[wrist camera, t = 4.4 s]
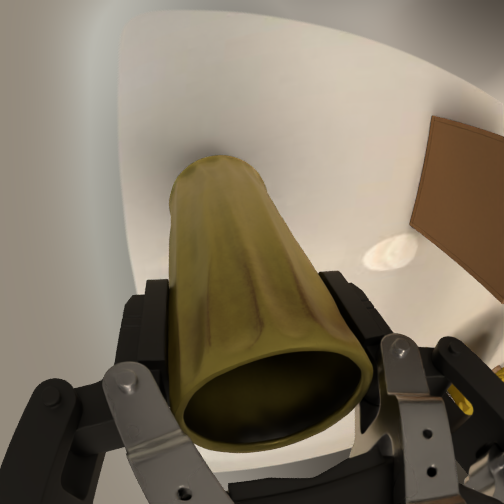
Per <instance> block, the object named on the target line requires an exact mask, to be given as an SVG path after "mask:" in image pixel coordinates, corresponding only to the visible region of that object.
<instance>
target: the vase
mask: <svg viewBox="0 0 504 504" xmlns="http://www.w3.org/2000/svg"><path fill="white" fill-rule="evenodd" d="M169 209H170V214H171V230H170V239H169V305H168V372H169V403H170V410H171V412H172V414H173V415H174V417H175V419H176V421H177V423H178V424H179V426H180V428H181V429H182V431H183V432H184V433H186V434H187V435H188V436H189V438H190V439H191V440H192V442H193V443H194V444H196V445H198V446H200V447H203V448H205V449H208V450H213V451H219V452H229V453H250V452H259V451H266V450H272V449H277V448H281V447H284V446H288V445H291V444H294V443H296V442H299V441H302V440H304V439H307V438H309V437H311V436H314V435H316V434H318V433H320V432H322V431H324V430H326V429H327V428H329V427H331V426H332V425H334V424H335V423H337V422H338V421H339V420H341V419H342V418H343V417H345V416H346V415H347V414H349V413H350V412H351V411H352V410H353V409H354V408H355V407H356V406H357V405H358V404H359V402H360V401H361V400H362V399H363V397H364V396H365V394H366V393H367V391H368V389H369V387H370V384H371V381H372V377H373V367H372V364H371V362H370V360H369V358H368V356H367V354H366V353H365V351H364V349H363V348H362V346H361V345H360V343H359V341H358V340H357V338H356V337H355V335H354V334H353V333H352V331H351V330H350V329H349V327H348V326H347V324H346V323H345V321H344V319H343V318H342V316H341V314H340V312H339V310H338V308H337V306H336V303H335V301H334V299H333V297H332V295H331V294H330V292H329V290H328V289H327V287H326V286H325V284H324V282H323V281H322V279H321V278H320V276H319V275H318V273H317V271H316V270H315V268H314V267H313V265H312V263H311V262H310V260H309V259H308V257H307V256H306V254H305V253H304V251H303V250H302V248H301V247H300V245H299V244H298V242H297V241H296V239H295V238H294V236H293V235H292V233H291V231H290V230H289V228H288V226H287V224H286V223H285V221H284V220H283V218H282V217H281V215H280V214H279V212H278V210H277V208H276V206H275V205H274V203H273V201H272V200H271V198H270V197H269V195H268V193H267V189H266V186H265V184H264V182H263V180H262V178H261V176H260V175H259V173H258V172H257V171H256V170H255V169H254V168H253V167H252V166H251V165H249V164H248V163H246V162H245V161H243V160H241V159H238V158H235V157H232V156H227V155H215V156H209V157H205V158H202V159H199V160H197V161H195V162H194V163H192V164H190V165H189V166H188V167H187V168H185V169H184V170H183V171H182V172H181V173H180V175H179V176H178V177H177V178H176V180H175V182H174V184H173V187H172V190H171V194H170V198H169Z"/></svg>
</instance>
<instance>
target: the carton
mask: <svg viewBox="0 0 504 504" xmlns="http://www.w3.org/2000/svg"><path fill="white" fill-rule="evenodd" d="M410 226H412V227H413V228H414V229H416V230H417V231H418V232H420V233H421V234H422V235H423V236H425V237H426V238H427V239H429V240H430V241H431V242H432V243H434V244H435V245H436V246H437V247H439V248H440V249H441V250H442V251H443V252H445V253H446V254H447V255H448V256H449V257H451V258H452V259H453V260H454V261H455V262H457V263H458V264H459V265H460V266H461V267H462V268H464V269H465V270H466V271H467V272H468V273H469V274H470V275H472V276H473V277H474V278H475V279H476V280H477V281H478V282H479V283H480V284H482V285H483V286H484V287H485V288H486V289H487V290H488V291H489V292H490V293H491V294H492V295H493V296H494V297H495V298H497V299H498V300H499V301H500V302H501V303H502V304H504V137H503V136H501V135H498V134H495V133H492V132H489V131H486V130H483V129H480V128H476V127H473V126H470V125H466V124H463V123H459V122H456V121H452V120H448V119H444V118H440V117H436V116H432V120H431V126H430V133H429V139H428V145H427V150H426V156H425V161H424V166H423V171H422V176H421V180H420V185H419V189H418V193H417V198H416V202H415V206H414V210H413V213H412V217H411V221H410Z"/></svg>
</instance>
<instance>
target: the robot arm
mask: <svg viewBox="0 0 504 504" xmlns="http://www.w3.org/2000/svg"><path fill="white" fill-rule="evenodd" d="M318 275H319V276H320V278H321V279H322V281H323V282H324V284H325V286H326V287H327V289H328V290H329V292H330V294H331V295H332V297H333V299H334V301H335V303H336V306H337V308H338V310H339V312H340V314H341V316H342V318H343V319H344V321H345V323H346V324H347V326H348V327H349V329H350V330H351V331H352V333H353V334H354V335H355V337H356V338H357V340H358V341H359V343H360V345H361V346H362V348H363V349H364V351H365V353H366V354H367V356H368V358H369V360H370V362H371V364H372V367H373V377H372V381H371V384H370V387H369V389H368V391H367V393H366V394H365V396H364V397H363V399H362V400H361V401H360V402H359V404H358V405H357V406H356V407H355V440H354V444H353V447H352V449H351V453H350V457H349V458H348V459H346V460H344V461H342V462H341V463H339V464H338V465H336V466H334V467H332V468H330V469H329V470H327V471H325V472H323V473H322V474H320V475H318V476H316V477H313V478H264V479H258V480H252V481H244V482H236V483H228V491H225V490H224V489H223V487H222V486H221V484H220V483H219V482H218V480H217V479H216V477H215V476H214V475H213V473H212V471H211V470H210V468H209V467H208V465H207V464H206V462H205V461H204V459H203V458H202V456H201V455H200V453H199V451H198V450H197V448H196V447H195V445H194V443H193V442H192V440H191V439H190V438H189V436H188V435H187V434H186V433H184V432H183V431H182V429H181V428H180V426H179V424H178V423H177V421H176V419H175V417H174V415H173V414H172V412H171V410H170V408H169V407H170V403H169V372H168V305H169V281H168V279H158V280H147V282H146V288H145V295H132V297H131V298H130V299H129V300H128V302H127V303H126V304H125V308H124V312H123V319H122V322H121V328H120V334H119V339H118V345H117V351H116V358H115V363H114V366H112V367H111V368H110V369H109V370H108V371H107V372H106V374H105V375H104V377H103V379H102V380H101V381H99V382H97V383H94V384H91V385H86V386H82V387H78V388H73V387H72V386H71V384H69V383H68V382H67V381H65V380H62V379H57V378H54V379H48V380H46V381H44V382H42V383H41V384H39V385H38V386H37V387H36V389H35V390H34V392H33V394H32V396H31V398H30V400H29V402H28V404H27V406H26V408H25V410H24V412H23V414H22V417H21V419H20V421H19V423H18V426H17V428H16V430H15V432H14V435H13V437H12V440H11V442H10V444H9V447H8V449H7V452H6V454H5V457H4V460H3V462H2V465H1V468H0V504H93V499H94V496H95V492H96V487H97V484H98V479H99V476H100V472H101V468H102V464H103V461H104V457H105V453H106V452H107V451H111V450H115V449H119V448H122V447H125V448H126V451H127V454H126V455H127V459H128V461H129V463H130V466H131V468H132V470H133V472H134V475H135V477H136V479H137V481H138V483H139V485H140V487H141V489H142V491H143V493H144V495H145V497H146V499H147V500H148V502H149V504H504V382H503V381H502V380H501V379H500V378H499V377H498V376H497V375H496V374H495V373H494V372H493V371H492V370H491V369H490V368H489V367H488V366H487V365H486V364H485V363H484V362H483V361H482V360H481V359H480V358H479V357H478V356H477V355H476V354H474V353H473V352H472V351H471V350H470V349H469V348H468V347H467V346H466V345H465V344H464V343H463V342H462V341H460V340H458V339H457V338H454V337H449V336H447V337H443V338H441V339H440V340H439V342H438V343H437V345H436V347H435V348H429V347H418V346H417V344H416V343H415V342H414V341H413V340H412V339H411V338H409V337H407V336H405V335H402V334H398V333H393V332H392V330H391V329H390V327H389V326H388V325H387V323H386V322H385V321H384V319H383V318H382V316H381V315H380V314H379V312H378V311H377V310H376V308H374V306H373V304H372V303H371V302H370V301H369V299H368V298H367V296H366V295H365V294H364V292H363V291H362V290H361V289H360V288H358V287H357V286H355V285H354V284H352V283H348V282H347V281H346V279H345V278H344V276H343V275H342V274H341V273H340V272H339V271H326V272H319V273H318ZM452 384H453V385H454V386H455V387H456V388H457V389H458V390H459V392H460V393H461V394H462V395H463V396H464V397H465V398H466V399H467V400H468V401H469V402H470V403H471V405H472V407H473V413H472V415H467V414H465V413H464V412H463V411H462V410H461V409H460V408H459V406H458V405H457V404H456V403H455V402H454V401H453V400H452V399H451V398H450V397H449V396H448V395H447V393H446V391H447V390H448V388H449V387H450V386H451V385H452ZM455 459H456V461H457V462H458V463H459V464H460V465H461V467H462V468H463V469H464V470H465V471H466V473H467V474H468V475H469V476H468V477H466V479H465V481H464V485H462V484H460V483H458V478H457V470H456V463H455ZM473 488H474V489H473Z"/></svg>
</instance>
